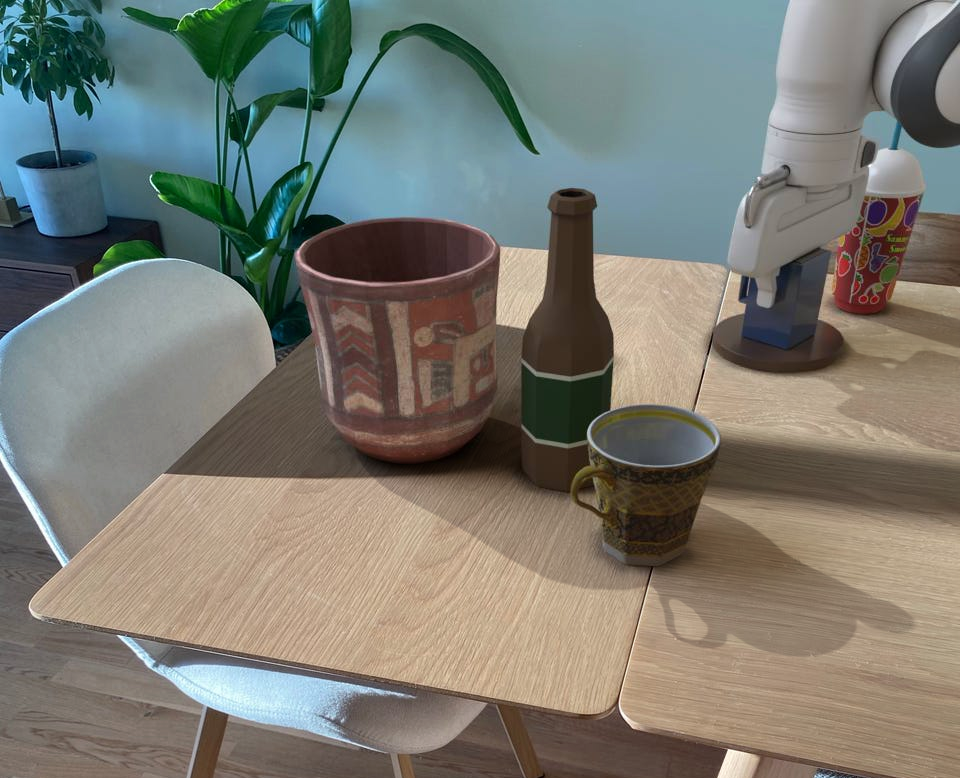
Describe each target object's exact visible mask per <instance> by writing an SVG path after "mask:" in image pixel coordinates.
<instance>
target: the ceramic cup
mask: <svg viewBox="0 0 960 778" xmlns="http://www.w3.org/2000/svg"><path fill="white" fill-rule="evenodd" d="M587 443H588V452H589V460H590V465H591V466H587V467H584V468H583V469H582V470H580V471H579V472H578V473H577V474H576V476H575V478H574V480H573V483H572V486H571V491H570V497H571V500H572V502H573V503H574V504H575V505H577V506H578V507H581V508H582V509H585V510H588V511H590V512H592V514H593V515H595V516H596V517H598V518H599V520H600V529H601V537H602V547H603V549H604V552H605V553H607V554H608V555H610V556H611V557H612V558H614V559H616V560H618V562H620V563H621V564H624V565H629V566H643V567H644V566H645V567H660V566H662V565H663V564H666V563H668V562H670V561H672V560H674V559H676V558H677V557H679V556H681V555H682V554H683V553H684V552H685V549H686V545H687V543H688V540H689V538H690V534H691V531H692V528H693V526H694V523H695V519H696V517H697V513H698V511H699V508H700V505H701V500H702V499H703V496H704V494H705V492H706V489H707V487H708V485H709V482H710V479H711V476H712V474H713V471H714V468H715V465H716V461H717V458H718V456H719V452H720V447H721V444H722V435H721V433H720V430H719V429H718V427H717V426H716V425H715V424H714V423H713V422H712V421H711V420H709V419H708V418H707V417H705V416H703V415H701V414H699V413H697V412H695V411H692V410H690V409H686V408H682V407H679V406H674V405H668V404H667V405H665V404H656V403H655V404H653V403H646V404H645V403H644V404H643V403H641V404H631V405H626V406H621V407H617V408H614V409H610V411H608V412H606V413H604V414H602V415H600V416H599V417H597V418H596V419H595V420H594V421H593V422H592V423H591V424H590V426H589V428H588V431H587ZM592 477H593V481H594V485H593V486H594V490H595V493H596V498H597V499H596V500H597V506H598V508H597V507H595V506H594V505H592V504H589V503H587V502H584V501H582V500H580V499H579V494H578V493H579V491H580V489H579V488H580V486H581V485H582V484H583V483H584V482H585V481H586V480H588V479H590V478H592Z"/></svg>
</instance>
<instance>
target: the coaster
mask: <svg viewBox="0 0 960 778" xmlns="http://www.w3.org/2000/svg"><path fill="white" fill-rule="evenodd" d="M744 314H745V312H744V313H739V314H735V315H732V316H729V317H727V318H725V319H723V320H721V321H720V322H719V323H718V324H717V325H715V327H714V329H713V333H712V347H713V349H714V351H715V352H716V353H717V354H718V355H719V356H720V357H722V358H723V359H724V360H727V361H728V362H731V363H733V364H735V365H737V366H741V367H744V368H748V369H751V370H757V371H761V372H769V373H781V374H783V373H785V374H789V373H791V374H793V373H794V374H795V373H805V372H812V371H816V370H820V369H823V368H826V367H828V366H831V365H833V364H834V363H836V361H838V360H839V359H840V357H841V356H842V354H843V348H844V344H845V339H844V336H843V333H842V332H841V331H840V330H838V328H836V327H835V326H834V325H832V324H830V323H828V322H826V321H824V320H821V319H819V318H818V322H817V327H816V332H815V334H814V335H812V336H810V337H809V338H807V339H805V340H803V341H802V342H800V343H798V344H797V345H795V346H793V347H791V348H790V349H788V350H786V349H782V348H779V347H776V346H773V345H769V344H766V343H763V342H760V341H756V340H753V339H750V338H747V337H743V336H741V335H742V328H743V321H744Z"/></svg>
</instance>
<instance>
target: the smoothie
mask: <svg viewBox="0 0 960 778" xmlns="http://www.w3.org/2000/svg"><path fill="white" fill-rule="evenodd" d="M902 129H903V127H902V126H901V125H900V124H899V122H898V121H897V120H896V123H895V128H894V133H893V136H892V142H891V146H889V147H884V148H881V149H878V153H877V157H876V160H875V161H874V163H872V164H871V165H869V179H868V184H867V188H866V192H865V196H864V200H863V204H862V208H861V212H860V215H859V218H858V220H857V222H856V224H855V226H854V227H853V229H852V230H851V231H850V232H849V233H847V234H845V235H843V236H841V237H839V238H838V243H837V250H836V258H835V264H834V272H833V279H832V287H831V294H832V296H834V305H835V306H836V307H837V308H838V309H840V310H842V311H844V312H848V313H851V314H852V313H853V314H857V315H858V314H859V315H866V314H867V315H869V314H874V313H875V314H876V313H878V312H881V311H882V310H883V309H884V308H885V306H886V304H887V302H888V301H891V299H892V297H893V295H894V292H895V287H896V284H897V281H898V278H899V275H900V271H901V268H902V265H903V262H904V259H905V255H906V252H907V250H908V249H907V248H908V247H909V246H908V245H909V243H910V239H911V236H912V233H913V230H914V226H915V223H916V219H917V217H918V213H919V210H920V207H921V204H922V200H923V197H924V193H925V191H926V190H927V184H926V182H925V181H924V175H923V169H922V168H921V164H920V162H919V161H918V158H916V157H915V155H913V154H912V153H910V152H909V151H908V150H905V149H903V148H900V147H898V146H899V142H900V137H901V132H902Z"/></svg>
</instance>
